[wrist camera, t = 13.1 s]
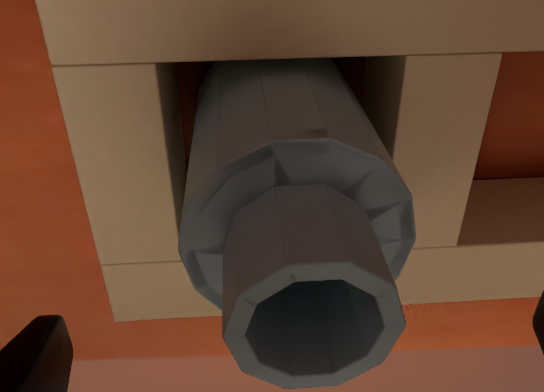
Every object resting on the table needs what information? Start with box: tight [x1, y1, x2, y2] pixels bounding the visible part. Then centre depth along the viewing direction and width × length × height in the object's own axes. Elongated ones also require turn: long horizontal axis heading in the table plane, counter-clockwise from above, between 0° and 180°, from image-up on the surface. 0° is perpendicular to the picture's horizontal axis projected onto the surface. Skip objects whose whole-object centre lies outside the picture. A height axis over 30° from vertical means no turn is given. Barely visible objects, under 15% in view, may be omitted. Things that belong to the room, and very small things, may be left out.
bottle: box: [178, 57, 416, 389], centre depth 13 cm, size 5×5×10 cm
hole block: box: [35, 0, 544, 322], centre depth 16 cm, size 11×20×4 cm, turn 91°
